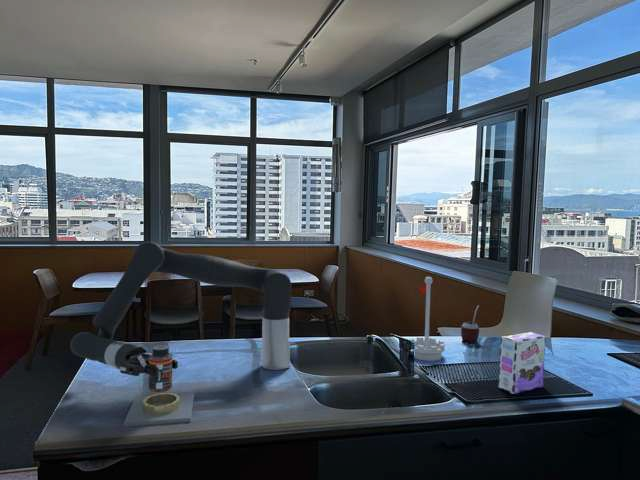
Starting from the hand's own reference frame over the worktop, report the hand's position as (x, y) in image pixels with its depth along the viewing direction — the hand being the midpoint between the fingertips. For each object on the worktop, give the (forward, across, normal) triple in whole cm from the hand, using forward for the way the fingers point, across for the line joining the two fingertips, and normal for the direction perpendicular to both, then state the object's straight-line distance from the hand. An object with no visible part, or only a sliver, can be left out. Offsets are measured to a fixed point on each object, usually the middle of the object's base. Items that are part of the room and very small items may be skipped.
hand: (167, 368), depth 123 cm
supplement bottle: (-2, 0, +6) cm, 7 cm away
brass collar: (-2, 0, +12) cm, 12 cm away
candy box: (+79, +70, +11) cm, 106 cm away
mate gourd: (+54, +113, +11) cm, 125 cm away
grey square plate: (-2, 0, +12) cm, 12 cm away
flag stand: (+44, +85, +12) cm, 96 cm away
